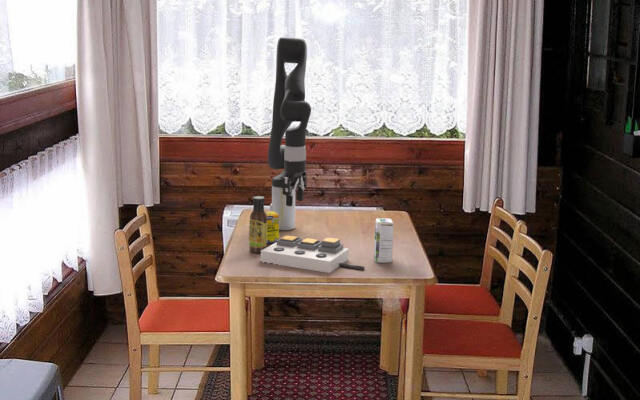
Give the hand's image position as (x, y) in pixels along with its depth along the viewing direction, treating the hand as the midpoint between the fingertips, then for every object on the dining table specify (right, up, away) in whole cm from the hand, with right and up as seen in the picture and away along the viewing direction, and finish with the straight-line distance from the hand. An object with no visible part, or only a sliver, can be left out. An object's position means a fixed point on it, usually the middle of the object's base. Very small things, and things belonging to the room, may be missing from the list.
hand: (294, 203), depth 281 cm
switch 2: (+5, -15, -3) cm, 16 cm away
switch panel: (+8, -20, -8) cm, 23 cm away
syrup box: (+31, -20, -4) cm, 37 cm away
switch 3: (+13, -14, -7) cm, 20 cm away
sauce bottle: (-13, -17, +5) cm, 22 cm away
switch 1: (-2, -14, 0) cm, 14 cm away
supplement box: (-10, -15, +16) cm, 24 cm away
